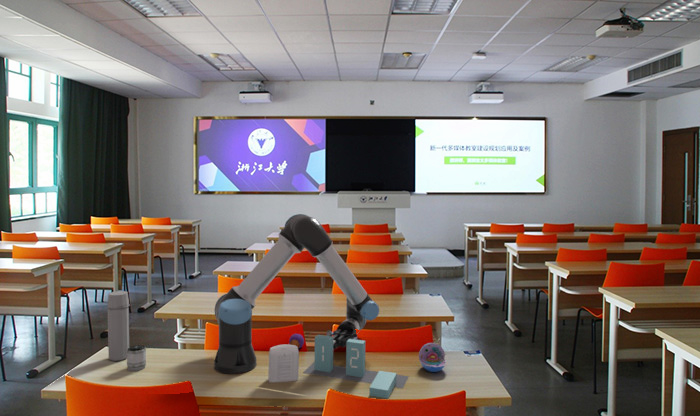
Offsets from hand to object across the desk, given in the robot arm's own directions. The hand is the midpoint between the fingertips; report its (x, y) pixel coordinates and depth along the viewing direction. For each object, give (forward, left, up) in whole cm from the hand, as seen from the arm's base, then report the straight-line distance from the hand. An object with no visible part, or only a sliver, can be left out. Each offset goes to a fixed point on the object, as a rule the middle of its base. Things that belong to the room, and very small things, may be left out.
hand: (327, 349), depth 174 cm
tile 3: (+24, -4, -5) cm, 25 cm away
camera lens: (-64, -24, -7) cm, 69 cm away
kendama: (-18, +8, -7) cm, 21 cm away
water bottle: (-77, -18, -7) cm, 80 cm away
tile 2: (+12, -3, -6) cm, 14 cm away
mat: (+12, -3, -7) cm, 14 cm away
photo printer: (-10, -15, -7) cm, 19 cm away
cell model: (+37, +11, -7) cm, 39 cm away
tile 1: (0, -3, -6) cm, 7 cm away
